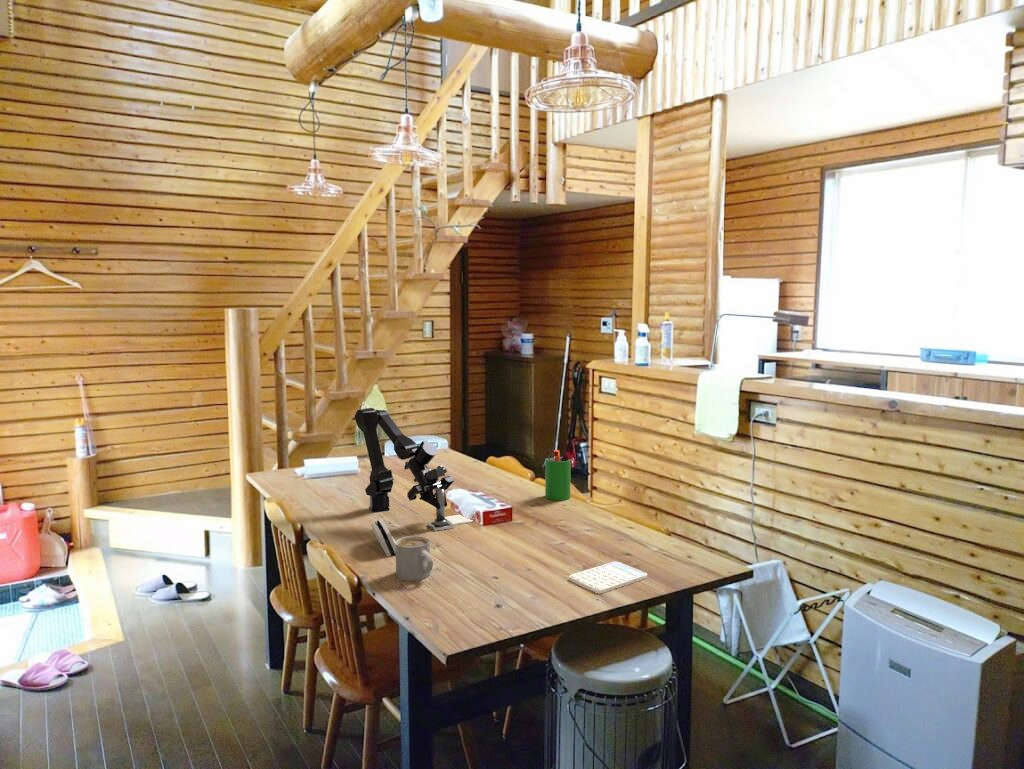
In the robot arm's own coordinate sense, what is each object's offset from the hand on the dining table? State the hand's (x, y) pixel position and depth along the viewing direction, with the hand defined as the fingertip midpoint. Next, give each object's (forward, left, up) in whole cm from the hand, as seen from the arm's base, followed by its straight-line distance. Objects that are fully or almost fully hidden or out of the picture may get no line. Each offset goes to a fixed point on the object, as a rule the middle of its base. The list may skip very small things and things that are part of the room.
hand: (443, 507), depth 249 cm
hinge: (-24, -10, -8) cm, 27 cm away
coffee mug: (-23, -37, -8) cm, 44 cm away
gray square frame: (-1, +1, -7) cm, 7 cm away
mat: (+8, +5, -7) cm, 12 cm away
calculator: (+26, -64, -8) cm, 70 cm away
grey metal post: (-1, +1, -7) cm, 8 cm away
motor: (+55, +14, -8) cm, 57 cm away
